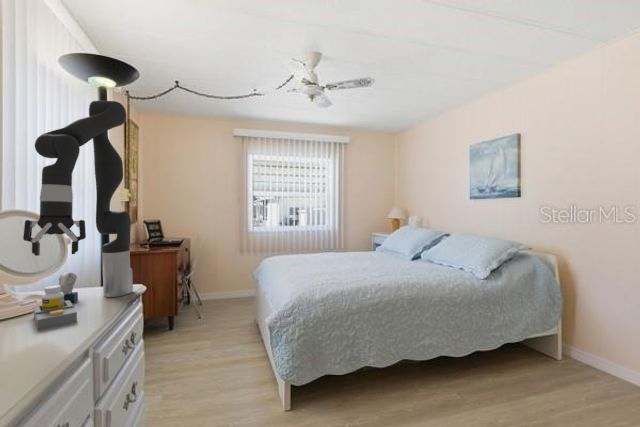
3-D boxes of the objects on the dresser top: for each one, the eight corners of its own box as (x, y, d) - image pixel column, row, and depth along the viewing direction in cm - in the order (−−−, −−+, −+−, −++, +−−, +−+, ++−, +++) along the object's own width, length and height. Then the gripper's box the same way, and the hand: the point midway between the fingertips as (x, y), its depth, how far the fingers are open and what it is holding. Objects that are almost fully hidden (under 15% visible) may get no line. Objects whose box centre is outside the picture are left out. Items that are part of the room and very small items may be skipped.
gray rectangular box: (32, 312, 106) (32, 301, 106) (66, 306, 112) (66, 295, 112) (37, 330, 91) (37, 317, 91) (77, 321, 98) (76, 309, 97)
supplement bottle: (38, 320, 99) (37, 289, 98) (48, 315, 104) (47, 285, 103) (59, 319, 100) (58, 288, 100) (67, 313, 105) (66, 283, 105)
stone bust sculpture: (79, 298, 122) (78, 269, 121) (72, 304, 114) (71, 274, 114) (61, 300, 119) (60, 271, 119) (53, 306, 112) (52, 275, 112)
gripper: (87, 202, 103) (86, 252, 102) (29, 200, 96) (27, 254, 95) (84, 200, 96) (83, 254, 96) (21, 199, 89) (20, 257, 89)
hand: (55, 254), depth 96 cm, fingers open, 8 cm apart
